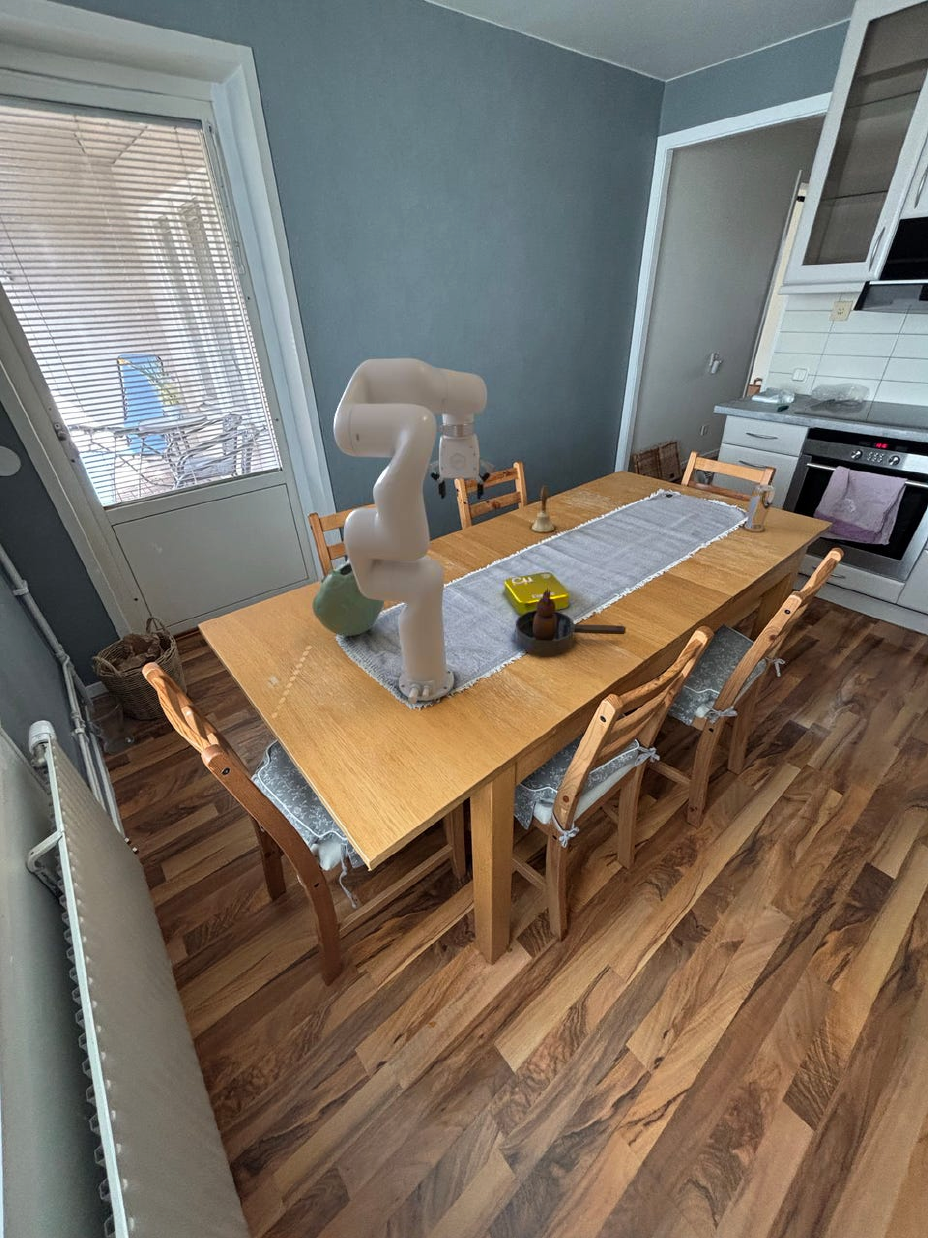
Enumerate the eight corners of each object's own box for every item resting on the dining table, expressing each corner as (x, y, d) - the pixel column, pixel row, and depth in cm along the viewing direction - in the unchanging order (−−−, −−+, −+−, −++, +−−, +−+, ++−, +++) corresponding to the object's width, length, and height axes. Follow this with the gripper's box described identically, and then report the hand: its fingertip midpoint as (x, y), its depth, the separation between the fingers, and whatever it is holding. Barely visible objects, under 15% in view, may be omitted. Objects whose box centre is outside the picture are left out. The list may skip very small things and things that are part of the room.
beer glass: (744, 531, 179) (755, 490, 171) (741, 524, 185) (752, 483, 177) (766, 532, 177) (778, 491, 169) (762, 525, 183) (774, 484, 175)
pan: (575, 657, 121) (576, 642, 119) (514, 655, 123) (514, 640, 120) (571, 624, 133) (572, 610, 131) (516, 623, 135) (516, 608, 133)
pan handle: (625, 635, 123) (626, 630, 123) (572, 633, 125) (573, 628, 124) (624, 630, 125) (625, 625, 124) (572, 628, 127) (572, 623, 126)
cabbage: (309, 634, 134) (292, 567, 124) (368, 607, 145) (357, 543, 134) (340, 658, 124) (324, 588, 114) (401, 628, 135) (392, 560, 124)
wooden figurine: (554, 647, 125) (558, 594, 116) (531, 645, 126) (533, 593, 118) (556, 632, 130) (559, 580, 122) (533, 630, 131) (536, 579, 123)
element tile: (520, 617, 137) (520, 602, 135) (502, 591, 150) (502, 577, 147) (571, 607, 140) (572, 592, 138) (549, 583, 153) (550, 569, 150)
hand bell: (527, 526, 191) (528, 485, 182) (546, 522, 193) (548, 481, 185) (539, 534, 184) (541, 491, 176) (558, 529, 187) (561, 487, 178)
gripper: (420, 433, 122) (426, 502, 131) (492, 433, 119) (492, 503, 128) (427, 426, 128) (432, 492, 137) (495, 426, 125) (495, 493, 135)
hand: (461, 497), depth 133 cm, fingers open, 9 cm apart
